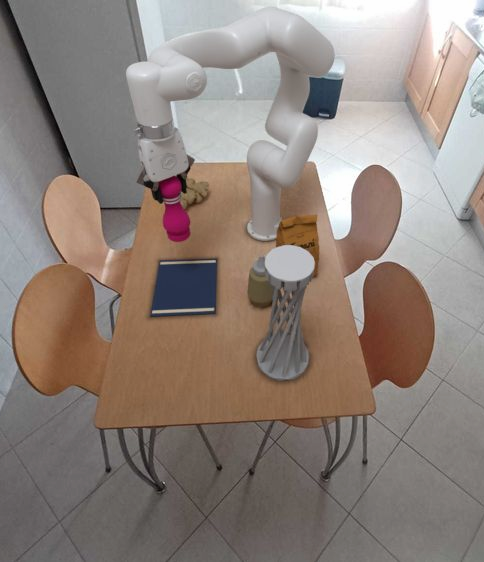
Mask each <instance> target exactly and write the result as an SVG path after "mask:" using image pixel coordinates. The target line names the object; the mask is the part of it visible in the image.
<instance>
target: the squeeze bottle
mask: <svg viewBox="0 0 484 562" xmlns="http://www.w3.org/2000/svg"><path fill="white" fill-rule="evenodd" d="M257 258H258V259H257V260H255V261H254V262H253V265H252V267H251V268H250V269H249V274H248V282H247V291H246V294H247V296H248V298H249V300H250V302H251V303H252V305H254V306H255V307H257V308H266V307H268V306H270V304H271V303H272V302H273V298H272V293H271V289H270V284H269V282H268V280H267V278H266V276H265V259H266V257H265V255H264V254H263V253H261V254H259V256H258V257H257Z"/></svg>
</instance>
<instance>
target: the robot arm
mask: <svg viewBox="0 0 484 562" xmlns="http://www.w3.org/2000/svg"><path fill="white" fill-rule="evenodd" d="M269 53H275V56H276V59H277V61H278V64H279V69H280V81H279V85H278V88H277V91H276V94H275V97H274V99H273V102H272V104H271V107H270V108H269V111H268V114H267V117H266V120H265V123H264V129H265V132H266V134H267V136H269V137H271V138H272V139H274V140H276V141H278V142H279V143H281V144H283V145H285V146H286V149H284V148H282V147H280V146H278V145H277V144H275V143H273V142H271V141H268V140H264V139H263V140H262V139H261V140H256V141H254V142H252V143H251V145H250V146H249V148H248V150H247V153H246V165H247V169H248V174H249V180H250V213H251V219H250V220H249V221H248V223H247V226H246V230H247V233H248V235H249V236H250V237H251V238H253V239H255V240H257V241H261V242H270V241H274V240H276V236H277V229H278V227H279V223H280V221H282V220H283V217H282V216H281V196H282V189H284V190H285V189H290V188H292V187H294V186H295V185H296V183H297V182H298V181H299V180H300V178H301V176H302V174H303V171H304V169H305V167H306V165H307V163H308V160H309V158H310V157H311V154H312V152H313V150H314V148H315V145H316V142H317V140H318V136H319V135H318V134H319V127H318V124H317V122H316V121H315V119H314V118H312V117H311V116H310V115H308V114H306V113H304V110H305V106H306V104H307V101H308V99H309V96H310V92H311V91H310V89H311V83H310V77H313V78H322V77H324V76H326V75H327V74H329V72H330V70H331V69H332V68H333V65H334V61H335V48H334V46H333V44H332V42H331V41H330V40H329V39H328V38H327V37H326V36H325V35H324V34H322V33H321V32H320V31H319V30H318V29H317V28H316V27H315V26H314V25H313V24H312V23H311V22H309V21H308V20H306V18H304V17H303V16H301V15H300V14H298V13H295V12H291V11H288V10H286V9H282V8H279V7H275V6H266V7H265V6H264V7H262V8H259V9H258V10H256V11H254V12H252V13H250V14H248V15H246V16H243V17H242V18H239V19H237V20H236V21H232V22H231V23H230V24H229V23H228V24H227V25H225V26H221V27H216V28H215V27H214V28H210V29H205V30H199V31H191V32H189V33H185V34H181V35H178V36H176V37H174V38H172V39H169V40H167V41H165V42H163V43H161V44H159V45H158V46H156V47H155V48H154V49H153V50H152V51H151V52H150V53H149V56H148V58H147V61H138V62H135V63H132V64H130V65H129V66H127V68H126V70H125V77H126V83H127V86H128V90H129V95H130V97H131V102H132V106H133V110H134V114H135V119H136V122H135V123H136V126H135V127H134V128H132V134H133V135H135V136H137V148H138V149H137V150H138V157H139V162H140V167H139V168H138V171H137V173H136V174H135V176H134V178H133V180H134V181H135V182H136V183H137V184H138V185H141V186H144V187H145V188H148V189H150V192H151V196H152V199H153V200H154V201H157V203H159V204H160V205H162V204H164V202H163V199H162V195H161V191H160V189H159V188H158V184H159V181H162V180H165V179H167V178H170V177H172V176H176V177H178V178H179V180H180V182H181V191H182V192H183V193H184V194H186V193H187V190H186V188H187V183H186V178H188V175H189V172H190V171H191V169H192V168H191V167H192V166H193V164H194V162H195V161H196V159H195V158H194V157H193V156H192V155H189V154H188V153H187V150H186V147H185V143H184V140H183V137H182V135H181V132H180V130H179V128H177V127H176V126H175V121H174V117H173V116H174V115H173V111H172V105H171V102H176V101H178V102H179V101H188V100H193V99H195V98H198V97H199V96H201V95H202V94H203V93H204V91H205V90H206V87H207V85H208V84H207V83H208V78H207V73H206V71H205V69H204V68H213V69H222V70H223V69H224V70H237V69H242V68H244V67H246V66H247V65H249V64H251V63H252V62H253V63H254V62H255V61H257V60H258V59H260V58H261V57H265V56H266V55H267V54H269ZM145 176H147V178H148V179H145Z"/></svg>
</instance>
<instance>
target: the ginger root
mask: <svg viewBox="0 0 484 562" xmlns="http://www.w3.org/2000/svg"><path fill="white" fill-rule="evenodd" d="M186 183H187V188H186V190H187V193H186V194H184V193H183V192H182V191H180V192H181V197H182V198H181V200H180V202H181V205H182V207H183V209H184V210H186V209H187V207H188V205H189V206H190V205H193V204H194V203H196V204H201V203H202V201H203V198H207V196H208V190H209V189H210V188H209V187H210V183H209V182H208V181H204V180H201V181H199V182H196V179H195V178H191V177H187V178H186Z"/></svg>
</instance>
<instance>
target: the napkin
mask: <svg viewBox="0 0 484 562" xmlns="http://www.w3.org/2000/svg"><path fill="white" fill-rule="evenodd" d="M217 275H218V258H214V257H213V258H187V259H185V258H184V259H160V260H159V262H158V268H157V274H156V280H155V284H154V285H155V286H154V292H153V296H152V303H151V309H150V314H149V317H150V318H157V317H158V318H159V317H177V316H178V317H179V316H181V317H182V316H201V315H203V316H204V315H216V311H217V281H218V280H217V279H218V276H217Z"/></svg>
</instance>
